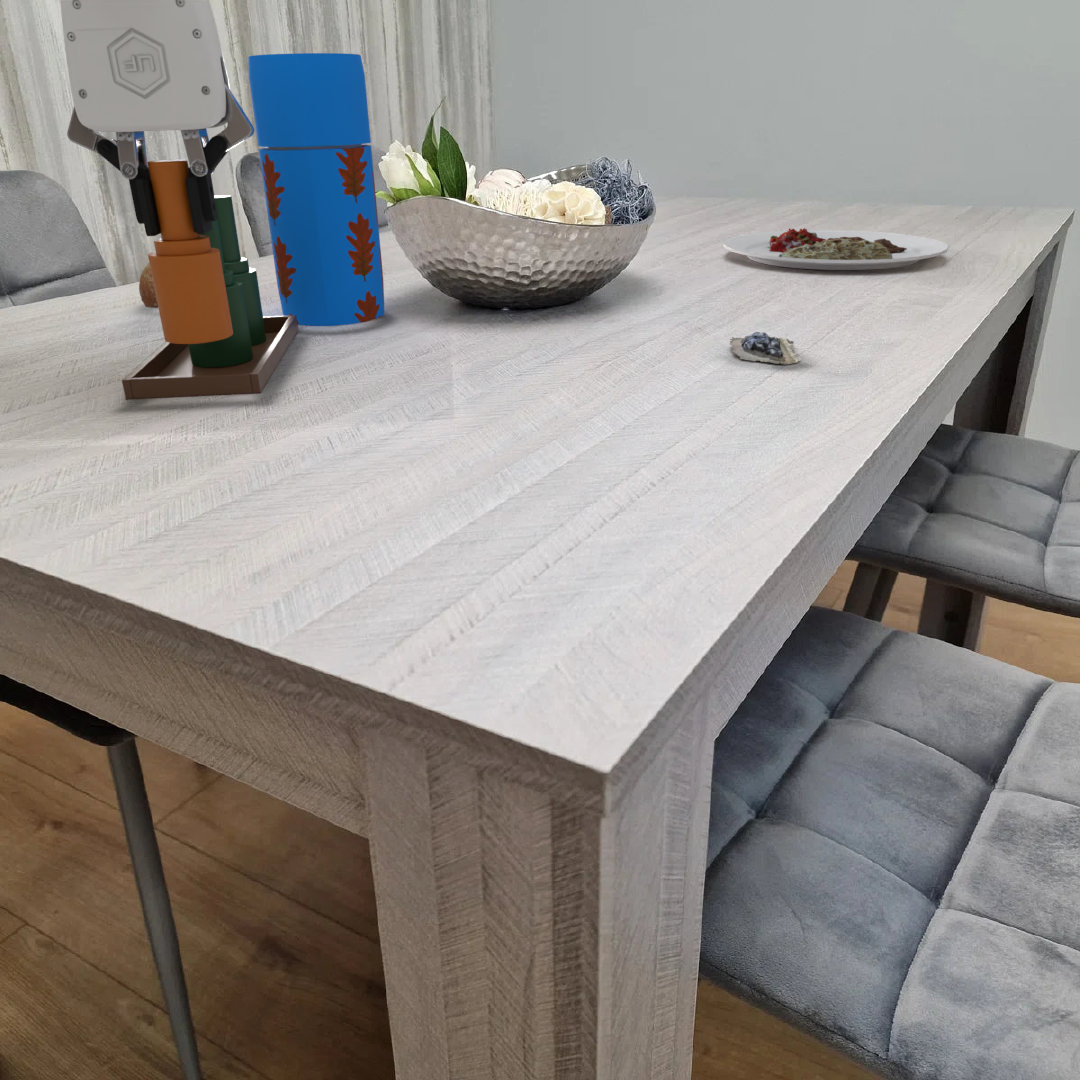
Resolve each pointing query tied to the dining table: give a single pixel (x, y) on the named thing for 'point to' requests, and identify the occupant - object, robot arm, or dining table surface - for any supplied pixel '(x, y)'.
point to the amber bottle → (185, 265)
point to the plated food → (835, 249)
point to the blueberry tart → (765, 349)
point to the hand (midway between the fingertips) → (180, 230)
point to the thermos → (319, 185)
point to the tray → (179, 377)
